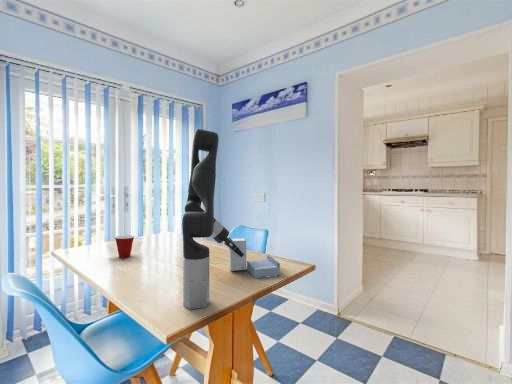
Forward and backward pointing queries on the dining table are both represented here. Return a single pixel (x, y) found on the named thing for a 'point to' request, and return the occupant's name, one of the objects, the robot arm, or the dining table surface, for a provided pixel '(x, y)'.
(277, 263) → the tray
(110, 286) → the dining table surface
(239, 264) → the skincare box
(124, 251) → the plastic cup
